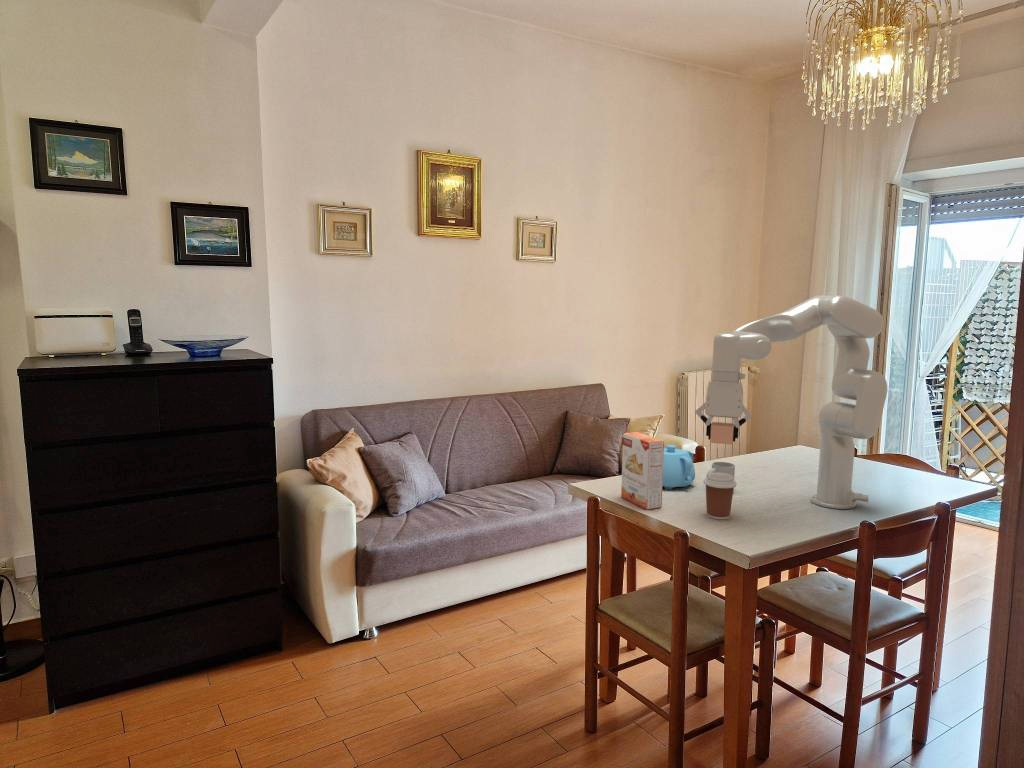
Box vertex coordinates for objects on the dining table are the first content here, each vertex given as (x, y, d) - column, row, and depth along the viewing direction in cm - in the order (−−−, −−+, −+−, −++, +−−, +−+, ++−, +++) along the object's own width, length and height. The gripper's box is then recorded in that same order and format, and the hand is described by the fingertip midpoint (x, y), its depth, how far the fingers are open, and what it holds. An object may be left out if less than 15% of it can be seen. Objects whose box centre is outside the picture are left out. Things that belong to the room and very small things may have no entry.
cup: (738, 492, 216) (739, 466, 214) (713, 496, 212) (715, 468, 211) (723, 486, 222) (724, 461, 221) (699, 489, 218) (700, 463, 217)
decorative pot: (650, 476, 235) (652, 438, 233) (697, 481, 228) (699, 442, 227) (640, 488, 220) (641, 447, 218) (689, 494, 214) (691, 452, 212)
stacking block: (733, 440, 191) (734, 423, 190) (732, 444, 185) (733, 427, 185) (711, 438, 193) (712, 421, 192) (710, 442, 188) (711, 425, 187)
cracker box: (619, 497, 209) (622, 432, 206) (635, 495, 211) (638, 431, 209) (645, 510, 196) (648, 441, 193) (662, 508, 198) (665, 440, 196)
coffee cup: (701, 509, 198) (703, 470, 196) (733, 512, 195) (736, 473, 194) (701, 519, 189) (703, 478, 188) (735, 522, 187) (737, 481, 185)
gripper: (757, 377, 188) (753, 439, 190) (695, 374, 193) (691, 434, 196) (758, 380, 181) (753, 445, 183) (692, 376, 186) (689, 439, 189)
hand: (721, 439), depth 189 cm, fingers closed on stacking block, 6 cm apart
